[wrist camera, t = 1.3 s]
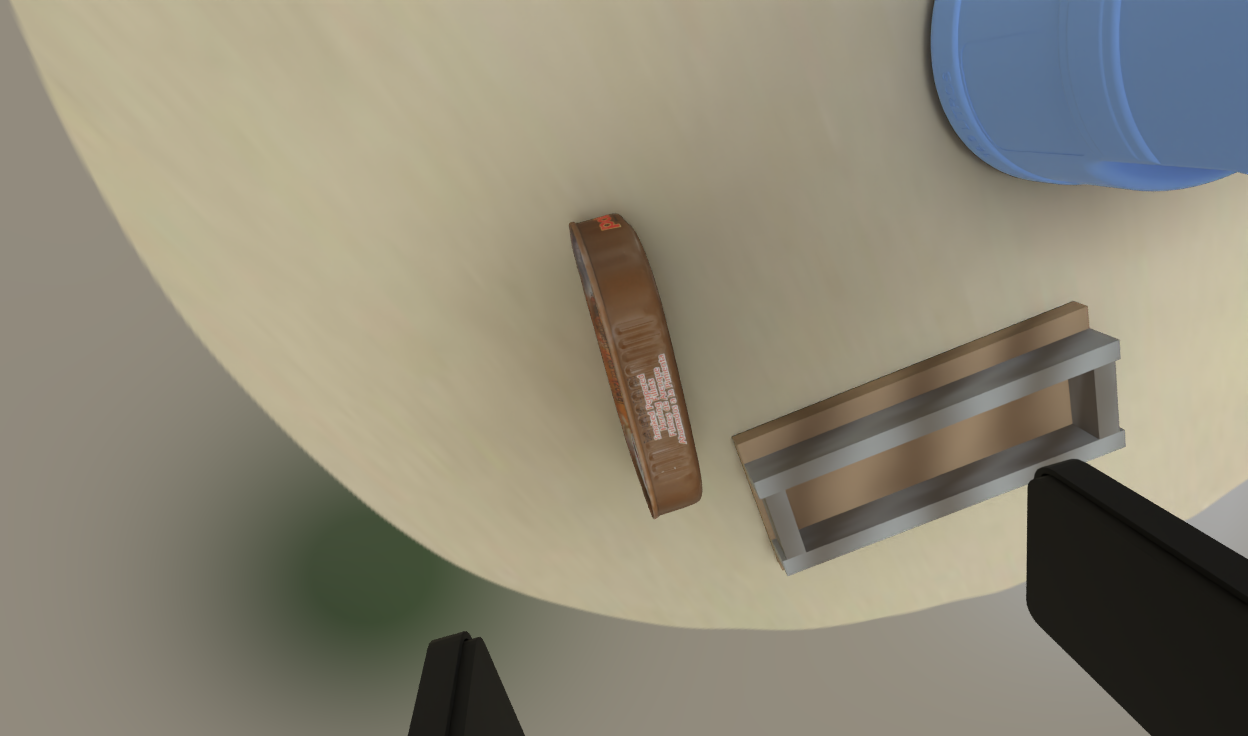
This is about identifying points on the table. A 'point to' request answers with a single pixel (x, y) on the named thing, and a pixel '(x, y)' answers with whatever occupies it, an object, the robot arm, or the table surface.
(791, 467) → the wooden tray
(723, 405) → the table surface
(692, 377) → the table surface
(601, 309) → the tin
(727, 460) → the table surface
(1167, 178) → the water jug
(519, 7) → the table surface
